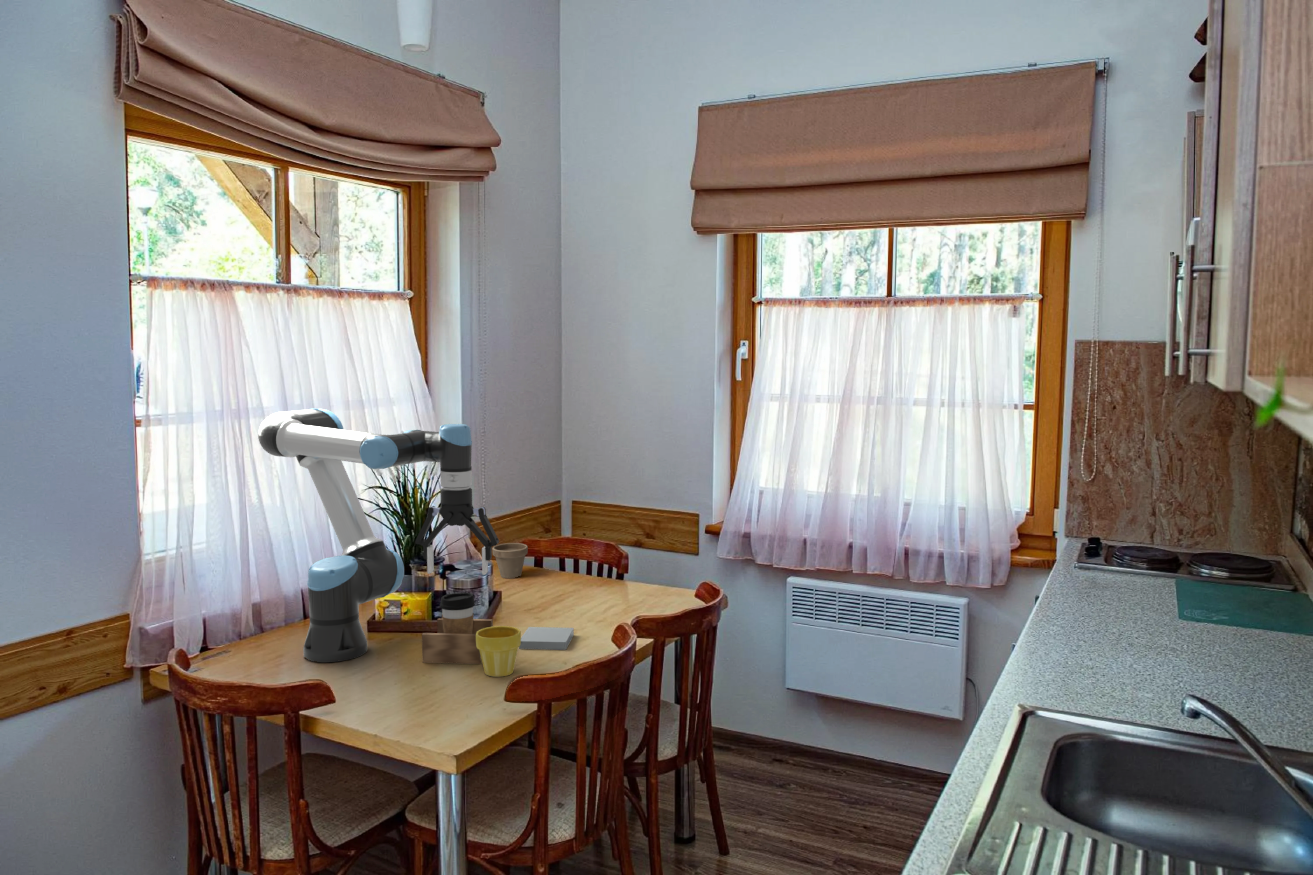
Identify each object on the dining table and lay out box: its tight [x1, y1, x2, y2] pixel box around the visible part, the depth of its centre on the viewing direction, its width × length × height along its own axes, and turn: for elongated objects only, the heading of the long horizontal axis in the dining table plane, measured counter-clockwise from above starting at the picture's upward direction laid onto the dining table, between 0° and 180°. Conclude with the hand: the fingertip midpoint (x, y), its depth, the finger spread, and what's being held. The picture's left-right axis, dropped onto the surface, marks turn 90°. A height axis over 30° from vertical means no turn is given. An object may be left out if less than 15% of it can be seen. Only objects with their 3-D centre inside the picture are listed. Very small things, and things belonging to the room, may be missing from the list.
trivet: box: [518, 626, 575, 651], centre depth 246 cm, size 12×12×2 cm
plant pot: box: [476, 625, 522, 678], centre depth 223 cm, size 10×10×10 cm
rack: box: [421, 617, 494, 665], centre depth 237 cm, size 14×13×7 cm
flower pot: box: [492, 542, 529, 579], centre depth 314 cm, size 12×11×10 cm
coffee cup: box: [439, 592, 476, 634], centre depth 236 cm, size 8×8×15 cm
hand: (457, 572), depth 235 cm, fingers open, 13 cm apart
